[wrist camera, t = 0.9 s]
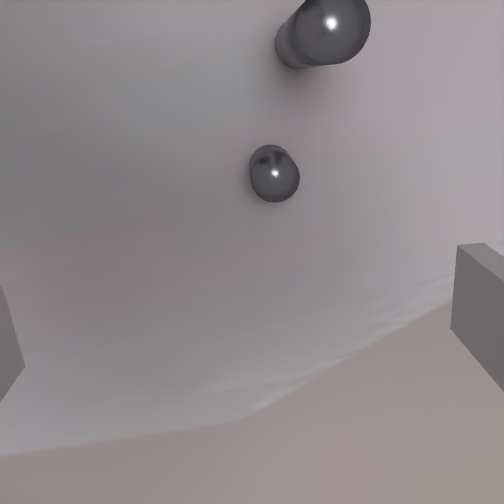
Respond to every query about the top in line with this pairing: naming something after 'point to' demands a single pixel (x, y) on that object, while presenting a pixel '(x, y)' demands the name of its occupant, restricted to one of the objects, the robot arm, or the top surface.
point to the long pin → (323, 33)
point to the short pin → (273, 173)
